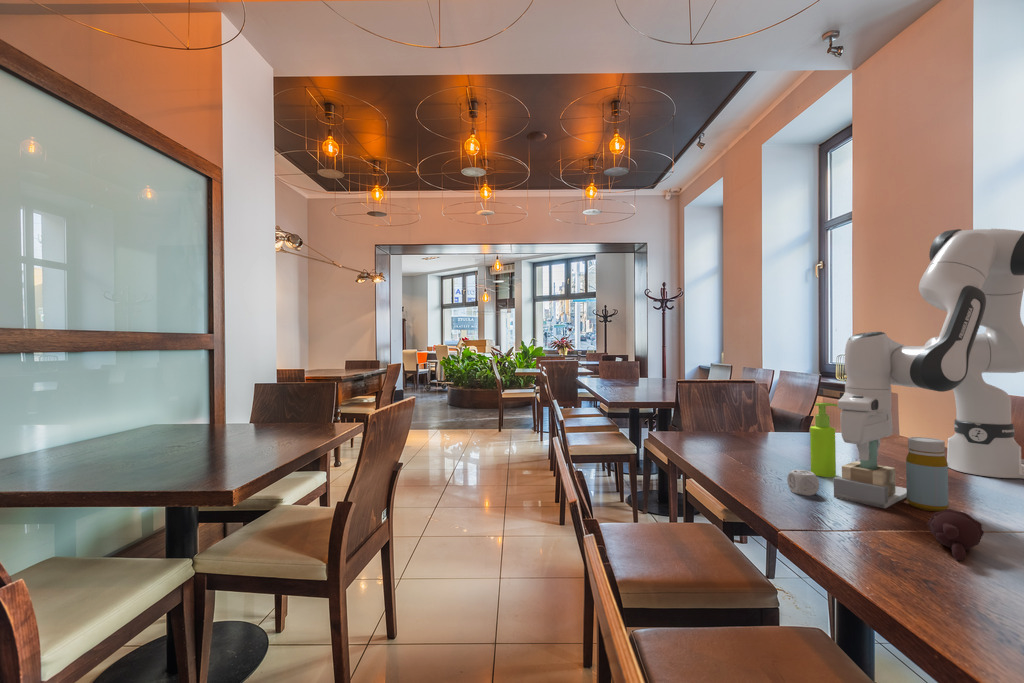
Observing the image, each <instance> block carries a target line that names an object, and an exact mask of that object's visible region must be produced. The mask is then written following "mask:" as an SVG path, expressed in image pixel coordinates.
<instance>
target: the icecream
mask: <svg viewBox="0 0 1024 683" xmlns="http://www.w3.org/2000/svg"><path fill="white" fill-rule="evenodd" d="M926 524H927V527H928V529H929V532H930V533H931V534H932V535H933V536H934V538H935V539H936V542H938V543H939V544H941V545H942V546H945V547H947V548H949V549H951V554H952V557H953V558H954V560H956V561H963V560H964V559H965V558H966V556H967V555H966V554H967V552H966V551H970V550H971V549H972V548H973V547H975V546H978V545H979V544H980V543H981V541H982V537H983V535H984V529H983V525H982V523H981V522H980V521H978V520H976V518H973V517H972V516H971V515H969V514H968V513H965V512H962V511H957V510H953V509H950V508H948V509H945V510H944V511H935V512H934V513H933V514H931V517H930V519H928V520H927V523H926Z"/></svg>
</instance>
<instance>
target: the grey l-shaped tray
mask: <svg viewBox="0 0 1024 683" xmlns="http://www.w3.org/2000/svg"><path fill="white" fill-rule="evenodd" d="M895 491H896V493H895V494H893V495H891V496H889V497H888V487H886V486H881V485H876V484H871V483H866V482H861V481H856V480H851V479H846V478H842V476H835V477H833V497H834V498H837V499H841V500H846V501H849V502H850V501H851V502H854V503H858V504H864V505H867V506H871V507H874V508H875V507H877V508H879V509H887V508H889V507H891V506H893V505H894V504H896V503H898V502H899V501H902V500H904V499H905V498H906V499H907V487H901V486H896V485H895Z"/></svg>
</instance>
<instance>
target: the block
mask: <svg viewBox="0 0 1024 683" xmlns="http://www.w3.org/2000/svg"><path fill="white" fill-rule="evenodd" d="M841 478H846V479H851V480H856V481H861V482H866V483H871V484H876V485H881V486H886V487H888V497H889V496H891V495H893V494H895V493H896V491H895V486H896V467H892V466H887V465H880V464H877V470H871V469H865V468H860V461H856V460H855V461H852V462H850V463H847V464H844V465H841Z"/></svg>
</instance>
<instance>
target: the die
mask: <svg viewBox="0 0 1024 683" xmlns="http://www.w3.org/2000/svg"><path fill="white" fill-rule="evenodd" d="M786 479H787V485H788V488H789V490H790V491H791V492H792V493H794V494H797V495H801V496H806V497H807V496H815V495H816V494H817V493H818V491H819V487H820V482H819V479H818V476H816V475H815V474H814V473H813V472H811V470H810V471H809V470H804V469H793V470H791V471H790V472H789V473H788V474H787V478H786Z"/></svg>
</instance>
